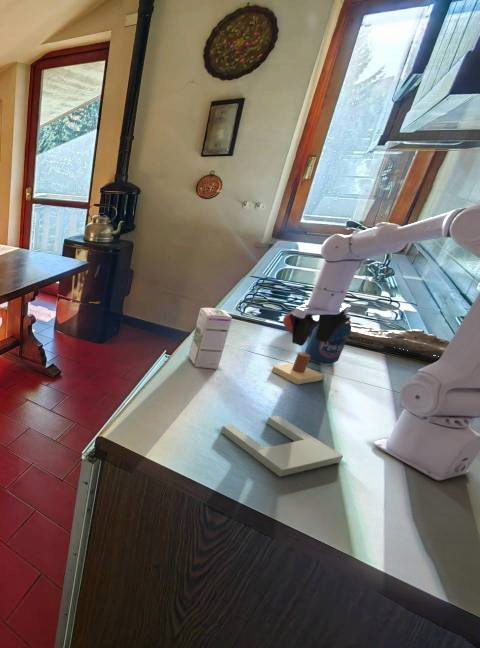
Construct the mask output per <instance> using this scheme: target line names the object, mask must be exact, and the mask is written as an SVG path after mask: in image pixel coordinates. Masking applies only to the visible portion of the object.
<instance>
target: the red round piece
mask: <svg viewBox="0 0 480 648" xmlns="http://www.w3.org/2000/svg"><path fill="white" fill-rule="evenodd" d="M294 311H295V309H294V310H292V311H290V312H288V313H286V314H285V316H284V317H283V320H282V323H283V326H284V327H285V328H286V329H287V330H288V331H289V333H293V330H292V323H291V320H290V317H289V315H290V313H292V312H294Z"/></svg>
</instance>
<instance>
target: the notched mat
mask: <svg viewBox="0 0 480 648" xmlns="http://www.w3.org/2000/svg"><path fill="white" fill-rule="evenodd" d="M266 424H267V425H269V426H270V427H271V428H273V429H275V430H276V431H277V432H279V433H281V434H283V436H286V437H287V438H289V440H292V441H291V442H287V443H282V444H277V445H273V446H269V447H265V446H264V445H262V444H261V443H259V442H258V441H257V440H255V439H254V438H253V437H251V436H250V435H249V434H247V433H246V432H244V431H243V430H241V429H240V428H238V427H237V426H236V425H234V424H233V423H230V424H226V425H222V426H221V429H220V433H222V434H223V435H224V436H225V437H227V438H228V439H229V440H231V441H232V442H233V443H235V444H236V445H237V446H239V447H240V448H241V449H242V450H244V451H245V452H247V453H248V454H249V455H250V456H252V457H253V458H254V459H256V460H257V461H258V462H259V463H261V464H262V465H263V466H265V467H266V468H268V469H269V470H270V471H271V472H273V474H276V475H277V476H278V477H280V478H281V477H285V476H289V475H293V474H296V473H297V474H298V473H301V472H305V471H309V470H313V469H318V468H321V467H322V468H323V467H327V466H329V465H335V464H338V463H341V461H342V459H343V457H344V455H343V454H341V453H340V452H338V451H336V450H335V449H333V448H332V447H330V446H328V445H326V444H325V443H323V442H322V441H320V440H318V439H317V438H315V437H314V436H312V435H310V434H308V433H307V432H305V431H304V430H303V429H301V428H299V427H297V426H296V425H294V424H293V423H291V422H290V421H288V420H286V419H285V418H283V417H282V416H279V415H272V416H268V418H267V420H266Z"/></svg>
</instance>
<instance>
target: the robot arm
mask: <svg viewBox="0 0 480 648" xmlns="http://www.w3.org/2000/svg"><path fill="white" fill-rule="evenodd" d="M440 238H441V239H442V238H451V239H452V241H453V242H454V243H455V244H457V245H458V246H460V247H461V248H462V249H464V250H465V251H467V252H468V253H470V254H472V255H473V256H475V257H476V258H478V259H480V204H475V205H472V206H469V207H463V208H455V209H453V210H451V211H449V212H446V213H442V214H440V215H436V216H433V217H429V218H426V219H423V220H420V221H416V222H412V223H410V224H406V225H403V226H401V225H399V224H397V223H390V222H379V223H375V227H372V228H368V229H365V230H363V229H357V230H353V232H352V233H351V234H349V235H348V234H347V235H346V234H345V235H344V234H342V233H341V234H340V233H335V234H332V235H330V236H329V237H327V238H326V239H325V240H324V241H323V243H322V245H321V247H320V248H321V249H320V253H321V256H322V258H323V259H324V260H323V262H322V265H321V268H320V270H319V273H318V276H317V278H316V281H315V283H314V286H313V289H312V292H311V295H310V297H309V300H303V302H302V305H301V306H298V307H295V308H294V310H295V311H294V310H293V311H294V312H292V311H291V312H292V313H290V315H289V317H290V320H291V323H292V330H293V332H292V334H291V335H292V339H291V342H292V343H293V344H295V345H298V346H300V347H303V346H304V345H305V344H306V342H307V340H308V338H309V337H310V336H311V334H312V332H313V329H314V328H315V327H316V326H317V325H318V324H319V326H318V330H317V333H316V339H317V340H319V341H322V342H324V343H325V342H327V341H328V340H329V339H330V338H331V336H332V335H333V334H334V333H335V332H336V331H337V329H338V328H340V327H341V326H342V325H343V324H344V323H346V322H347V321H349V320H350V321H351V316H350V315H348V313H349V312H350V309H351V307H352V305H350V304H347V303H344V301H345V299H346V296H347V294H348V292H349V289H350V286H351V285H352V281H353V280H354V277H355V275H356V273H357V271H359V270H360V269H361V268H362V266H363V264H364V262H366V261H368V259H370V258H375V257H379V256H384V255H389V254H395V253H399V252H401V251H402V250H404V249H405V247H406V246H407V245H408V244H413V243H417V242H419V243H420V242H424V241H431V240H436V239H440ZM314 316H315V317H316V316H319V317H318V318H319V321H316V320H313V318H312V317H314ZM449 342H450V343H449V344H448V346H447V348H446V349H445V351H444V353H443V354H442V356H441V358H438V360H437V361H435V362H433V363H430V364H428V365H426V366H424V367H422V368H420V369H418V370H417V372H416V374H415V375H414V376H413V377H412V378H410V379H409V380H407V381H406V382H404V383H403V384H402V385H401V387H400V389H399V400H400V402H401V404H402V405H401V408H402V409H403V410H402V412H401V414H400V415H399V417H398V419H397V421H396V423H395V425H394V426H393V429H392V430H391V432H390V433H389V435H388V438H383V439H381V440H376V441H372V446H374V447H376V448H378V449H380V450H381V451H383V452H385V453H387V454H389V455H391V456H392V457H393V458H396V459H397V460H399V461H401V462H402V463H405V464H406V465H407V466H410V467H412V468H413V469H415V470H417V471H419V472H420V473H422V474H424V475H426V476H428V477H430V478H431V479H433V480H435V481H438V482H439V481H440V482H441V481H443V480H444V481H445V480H447V479H450V478H451V479H452V478H454V477H459V476H461V475H465V474H468V473H469V468H470V467H471V466H472V465H473V462H474V461H475V459H476V458H477V456H478V455H479V454H480V433H478V432H477V431H475V430H473V429H472V428H471V427H470V426H469V425H470V424H473V423H474V421H475V419H480V292H479V293H478V294H477V296H476V297H475V300H474V301H473V303H472V304H471V306H470V308H469V310H468V311H467V313H466V314H465V316H464V318H463V319H462V321H461V323H460V324H459V326H458V328H457V330H456V331H455V332H454V334H453V336H452V338H451V339H450V341H449Z"/></svg>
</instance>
